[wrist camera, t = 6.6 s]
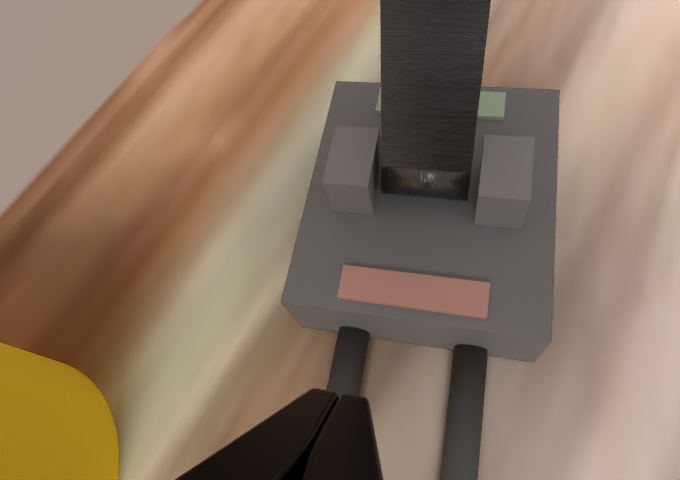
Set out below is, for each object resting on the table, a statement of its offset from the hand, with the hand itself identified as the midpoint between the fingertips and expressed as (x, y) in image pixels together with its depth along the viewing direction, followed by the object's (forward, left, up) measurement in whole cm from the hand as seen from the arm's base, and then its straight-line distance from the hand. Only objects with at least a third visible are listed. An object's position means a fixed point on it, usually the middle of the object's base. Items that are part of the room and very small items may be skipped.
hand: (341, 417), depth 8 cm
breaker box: (+6, +7, -12) cm, 15 cm away
